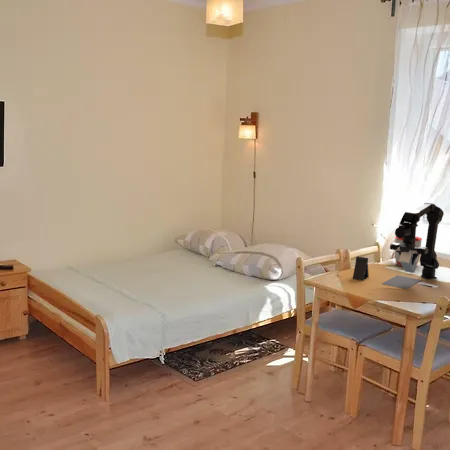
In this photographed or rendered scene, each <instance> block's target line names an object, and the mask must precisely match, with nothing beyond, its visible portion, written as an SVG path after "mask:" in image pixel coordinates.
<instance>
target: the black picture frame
mask: <svg viewBox="0 0 450 450" xmlns="http://www.w3.org/2000/svg"><path fill="white" fill-rule="evenodd" d="M369 276H370V275H369V258H368V257H364V256H356V257H355V264H354V269H353V276H352V280H358V281H365V280H366V279H369Z"/></svg>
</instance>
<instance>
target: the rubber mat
mask: <svg viewBox="0 0 450 450" xmlns="http://www.w3.org/2000/svg"><path fill="white" fill-rule="evenodd" d="M420 282H422V279H419V278H414V277H410V276H409V277H408V276H403V275H398V274H397V275H394V276H393V277H392V278H389V279H388V280H386V281H384V282H381V285H385V286H388V287H389V286H390V287H394V288H400V289H405V290H408V289H410V288H412V287H414V286H415V285H416V284H418V283H420Z"/></svg>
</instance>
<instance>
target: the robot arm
mask: <svg viewBox="0 0 450 450" xmlns="http://www.w3.org/2000/svg"><path fill="white" fill-rule="evenodd" d="M425 215H426V220H427V223H428V226H427V234H426V240H425V246H421V247H419V248H415V239H416V237H417V236H416V232H417V227H419V225H418V223H419V222H420V221H421V218H422V217H423V216H425ZM444 215H445V213H444V210H443V209H442V208H441V207H439V206H437V205H436V204H435V203H433V202H424V203H423V204H422V205H420V206H419V207H417V208H416V209H414V210H407V211H405V212H404V213H403V215H402V216H401V219H400V222H399V225H398V227H397V228H396V229H395V230H394V235H395V237H398V238H403V241H402V242H401V244H400V243H395V242H393V243H391V244H390V245H389V249H390V250H392V251H395V250H396V249H397V250H396V252H398V253H399V255H401V252H409V250H411V251H414V253H413V258H412V265H413V264H414V262H415V260H416V258H417V257H418V255H419V254H420V257H419V264H420V266H421V267H422V270H421V274H420V275H419V276H420V277H422V278H424V279H427V280H430V279H431V280H432V279H438V278H437V277H436V269H438V268H439V267H440V263H439V261H438V259H437V257H438V256H437V253H436V251H435V249H436V242H437V241H436V240H437V233H438V228H439V224H440V223H441V222H442V220H443V217H444ZM415 236H416V237H415Z"/></svg>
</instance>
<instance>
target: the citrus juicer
mask: <svg viewBox="0 0 450 450" xmlns="http://www.w3.org/2000/svg"><path fill="white" fill-rule="evenodd" d="M415 237H416V239H415V248H419V247H422V238H421V237H419V236H416V235H415ZM394 238H395V240H394V241H395V242H394V243H400V244H401V242H402V241H403V238H398V237H396V236H395V237H394ZM396 250H397V249H396ZM396 250H394V260H395V264H397V265H398V266H400V267H403V266H402V265H401V263H400V261H399V258H400V255H399V253H398V252H396ZM405 253H411V255H412V257H413V253H414V251H411V250H409V252H405ZM420 256H421V254H419V255H418V257H417V258H416V260H415V263H416V266H417V265H418V263H419V261H420Z"/></svg>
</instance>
